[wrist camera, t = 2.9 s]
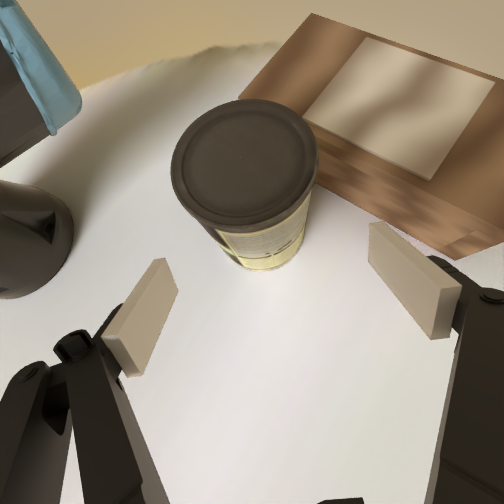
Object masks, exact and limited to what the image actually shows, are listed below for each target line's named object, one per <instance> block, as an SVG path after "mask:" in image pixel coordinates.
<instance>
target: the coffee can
mask: <svg viewBox="0 0 504 504" xmlns="http://www.w3.org/2000/svg"><path fill="white" fill-rule="evenodd" d="M318 167H319V149H318V145H317V141H316V139H315V136H314V134H313V132H312V130H311V128H310V127H309V126H308V124H307V123H306V122H305V121H304V120H303V119H302V117H300V116H299V115H298V114H297V113H296V112H295V111H293V110H291V109H290V108H288V107H286V106H284V105H282V104H279V103H276V102H273V101H268V100H261V99H242V100H236V101H231V102H228V103H225V104H222V105H220V106H217V107H215V108H213V109H211V110H209V111H208V112H206V113H205V114H203V115H202V116H200V117H199V118H197V119H196V120H195V121H194V122H193V123H192V124H191V125H190V126H189V127H188V128H187V129H186V131H185V132H184V133H183V135H182V136H181V138H180V140H179V141H178V143H177V145H176V148H175V150H174V152H173V156H172V161H171V171H170V172H171V181H172V186H173V189H174V192H175V194H176V196H177V198H178V200H179V201H180V203H181V204H182V206H183V207H184V208H185V209H186V210H187V211H188V212H189V213H190V214H191V215H192V216H193V217H194V218H195V219H197V220H198V221H199V223H200V224H201V225H202V226H203V227H204V228H205V230H206V231H207V232H208V233H209V234H210V235H211V236H212V237H213V239H214V240H215V241H216V242H217V243H218V244H219V246H220V247H221V248H222V249H223V251H224V252H225V253H226V254H227V256H228V257H229V258H230V259H231V260H232V261H233V262H234V263H235V264H237V265H238V266H240V267H242V268H244V269H247V270H250V271H256V272H265V271H271V270H274V269H277V268H280V267H282V266H283V265H285V264H286V263H288V262H289V261H290V260H291V259H292V258H293V257H294V256H295V255H296V253H297V252H298V250H299V249H300V246H301V244H302V242H303V237H304V228H305V222H306V218H307V212H308V207H309V202H310V197H311V191H312V187H313V185H314V183H315V179H316V176H317V172H318Z"/></svg>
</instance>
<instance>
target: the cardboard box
mask: <svg viewBox="0 0 504 504" xmlns="http://www.w3.org/2000/svg"><path fill="white" fill-rule="evenodd" d="M242 99H261V100H268V101H273V102H276V103H279V104H282V105H284V106H286V107H288V108H290V109H291V110H293V111H295V112H296V113H297V114H298V115H299V116H300V117H302V119H303V120H304V121H305V122H306V123H307V124H308V126H309V127H310V128H311V130H312V132H313V134H314V136H315V139H316V141H317V145H318V149H319V167H318V172H317V176H316V179H315V183H317V184H319V185H321V186H323V187H324V188H326V189H328V190H330V191H332V192H333V193H335V194H337V195H339V196H341V197H342V198H344V199H346V200H348V201H350V202H351V203H353V204H355V205H357V206H358V207H360V208H362V209H364V210H366V211H367V212H369V213H371V214H373V215H375V216H376V217H378V218H380V219H382V220H384V221H385V222H387V223H389V224H391V225H393V226H394V227H396V228H398V229H400V230H402V231H403V232H405V233H407V234H409V235H410V236H412V237H414V238H416V239H418V240H419V241H421V242H423V243H425V244H427V245H428V246H430V247H432V248H434V249H436V250H437V251H439V252H441V253H443V254H445V255H446V256H448V257H450V258H452V259H453V260H455V261H456V260H458V259H461V258H463V257H466V256H469V255H471V254H474V253H476V252H479V251H482V250H484V249H487V248H489V247H492V246H495V245H497V244H500V243H502V242H504V80H503V79H500V78H497V77H494V76H491V75H488V74H485V73H483V72H480V71H477V70H474V69H471V68H468V67H465V66H462V65H460V64H457V63H454V62H451V61H448V60H445V59H442V58H439V57H437V56H434V55H431V54H428V53H425V52H422V51H419V50H416V49H414V48H411V47H408V46H405V45H402V44H399V43H396V42H393V41H390V40H387V39H385V38H382V37H379V36H376V35H373V34H370V33H367V32H365V31H362V30H359V29H356V28H353V27H350V26H347V25H344V24H341V23H339V22H336V21H333V20H330V19H327V18H324V17H322V16H319V15H316V14H313V13H311V14H310V15H309V16H308V17H307V19H306V20H305V21H304V22H303V23H302V24H301V26H300V27H299V28H298V29H297V30H296V31H295V33H294V34H293V35H292V36H291V37H290V38H289V39H288V41H287V42H286V43H285V44H284V45H283V46H282V47H281V48H280V50H279V51H278V52H277V53H276V54H275V55H274V56H273V58H272V59H271V60H270V61H269V62H268V63H267V64H266V66H265V67H264V68H263V69H262V70H261V71H260V73H259V74H258V75H257V76H256V77H255V78H254V79H253V81H252V82H251V83H250V84H249V85H248V86H247V87H246V89H245V90H244V91H243V92H242V93H241V94H240V95H239V97H238V100H242Z"/></svg>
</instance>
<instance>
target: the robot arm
mask: <svg viewBox="0 0 504 504" xmlns="http://www.w3.org/2000/svg"><path fill="white" fill-rule="evenodd" d="M81 108H82V98H81V95H80V92H79V90H78V89H77V87H76V86H75V84H74V83H73V81H72V80H71V78H70V77H69V75H68V74H67V73H66V71H65V70H64V68H63V67H62V65H61V64H60V63H59V61H58V60H57V58H56V57H55V55H54V54H53V52H52V51H51V50H50V48H49V47H48V45H47V44H46V42H45V41H44V40H43V38H42V37H41V35H40V34H39V32H38V31H37V30H36V28H35V27H34V26H33V24H32V23H31V21H30V20H29V18H28V17H27V15H26V14H25V12H24V11H23V10H22V8H21V7H20V5H19V4H18V2H17V1H16V0H0V168H1V167H3V166H4V165H6V164H7V163H9V162H10V161H12V160H13V159H15V158H16V157H18V156H19V155H21V154H22V153H24V152H25V151H27V150H28V149H29V148H31V147H32V146H34V145H35V144H37V143H38V142H40V141H41V140H43V139H44V138H46V137H47V136H49V135H51V136H55V135H56V134H57V130H58V129H60V128H61V127H62V126H64V125H65V124H66V123H68V122H69V121H70V120H72V119H73V118H74V117H76V116H77V115H78V114H79V112H80V110H81ZM72 239H73V221H72V217H71V214H70V212H69V210H68V208H67V207H66V205H65V204H64V203H63V202H62V201H60V200H59V199H57V198H56V197H54V196H52V195H50V194H49V193H47V192H45V191H43V190H40V189H38V188H35V187H31V186H26V185H22V184H17V183H12V182H8V181H3V180H0V299H14V298H19V297H22V296H25V295H28V294H30V293H32V292H34V291H36V290H37V289H39V288H40V287H42V286H43V285H44V284H46V283H47V282H48V281H49V280H50V279H51V278H52V277H53V276H54V275H55V274H56V272H57V271H58V270H59V269H60V267H61V266H62V264H63V262H64V261H65V259H66V257H67V255H68V253H69V250H70V247H71V244H72ZM368 262H369V263H370V265H371V266H372V267H373V268H374V270H375V271H376V272H377V273H378V275H379V276H380V277H381V278H382V280H383V281H384V282H385V283H386V285H387V286H388V287H389V289H390V290H391V291H392V292H393V294H394V295H395V296H396V297H397V299H398V300H399V301H400V302H401V304H402V305H403V306H404V307H405V309H406V310H407V311H408V312H409V314H410V315H411V316H412V317H413V319H414V320H415V321H416V322H417V324H418V325H419V326H420V327H421V329H422V330H423V331H424V332H425V334H426V335H427V336H428V337H429V339H430V340H434V339H443V338H449V337H450V333H451V329H452V328H453V329H454V330H455V331H456V332H457V333H458V334H459V336H458V340H457V343H456V347H455V351H454V353H455V354H454V359H453V364H452V369H451V374H450V379H449V384H448V389H447V394H446V399H445V404H444V409H443V414H442V418H441V423H440V428H439V433H438V438H437V443H436V448H435V453H434V458H433V463H432V468H431V473H430V478H429V483H428V488H427V492H426V497H425V502H424V504H504V292H503V291H500V290H497V289H493V288H482V287H481V286H479V285H478V284H477V283H475V282H474V281H473V280H471V279H470V278H469V277H467V276H466V275H464V274H463V273H462V272H459V270H458V269H456V268H455V267H453V266H452V265H451V264H450V263H448V262H447V261H446V260H444V259H442V258H439V257H437V256H434V255H432V256H425V255H424V254H422V253H421V252H420V251H419V250H417V249H416V248H415V247H414V246H412V245H411V244H410V243H409V242H407V241H406V240H405V239H404V238H402V237H401V236H400V235H399V234H398V233H396V232H395V231H394V230H393V229H391V228H390V227H389V226H388V225H386V224H385V223H384V222H383V221H382V222H376V223H370V225H369V254H368ZM177 293H178V288H177V286H176V283H175V281H174V279H173V276H172V274H171V271H170V269H169V266H168V264H167V261H166V259H165V258H160V259H154V260H153V262H152V263H151V265H150V266H149V268H148V269H147V271H146V272H145V273H144V275H143V276H142V278H141V279H140V281H139V282H138V283H137V285H136V286H135V288H134V289H133V291H132V292H131V294H130V295H129V296H128V298H127V299H126V301H125V302H124V303H122V304H120V305H118V306H117V307H116V308H115V309H114V310H113V311H112V312H111V313H110V315H109V316H108V317H107V318H108V319H106V320H105V322H104V323H103V325H102V326H101V327H100V328H99V330H98V331H97V333H96V334H95V335H94V337H93V338H91V336H90V335H89V333H88V332H87V331H86V330H83V329H81V330H76V331H74V332H71V333H69V334H67V335H66V336H64V337H63V338H62V339H60V340H59V341H58V342H57V343H56V345H55V346H54V349H53V351H54V352H55V354H56V355H57V356H58V357H59V359H60V360H61V361H62V363H59V364H57V365H54V366H51V367H49V366H48V365H47V364H46V363H45V362H44V361H37V362H34V363H31V364H29V365H28V366H25V367H24V368H23V369H21V370H20V371H18V372H17V373H16V374H15V375H14V376H13V377H12V379H11V380H10V382H9V384H8V386H7V388H6V390H5V392H4V395H3V397H2V399H1V401H0V504H59V503H60V497H61V491H62V485H63V480H64V474H65V468H66V462H67V456H68V450H69V444H70V438H71V432H72V426H73V430H74V437H75V443H76V450H77V457H78V463H79V470H80V477H81V483H82V490H83V497H84V504H170V502H169V500H168V497H167V495H166V492H165V490H164V487H163V485H162V482H161V480H160V477H159V475H158V472H157V470H156V467H155V465H154V462H153V460H152V457H151V455H150V452H149V450H148V447H147V445H146V442H145V440H144V437H143V435H142V432H141V430H140V427H139V425H138V422H137V420H136V417H135V415H134V412H133V410H132V408H131V405H130V403H129V400H128V398H127V395H126V393H125V390H124V388H123V385H122V383H121V381H120V379H119V378H118V376H119V374H120V372H121V370H123V372H124V373H125V375H126V377H127V378H128V377H136V376H142V375H143V373H144V371H145V368H146V366H147V364H148V361H149V359H150V357H151V354H152V352H153V349H154V347H155V345H156V342H157V340H158V338H159V335H160V333H161V331H162V328H163V326H164V324H165V321H166V319H167V317H168V314H169V312H170V310H171V307H172V305H173V303H174V300H175V298H176V296H177ZM318 504H364V501H363V498H362V497H361V498H347V499H333V500H324V501H322V502H320V503H318Z"/></svg>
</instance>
